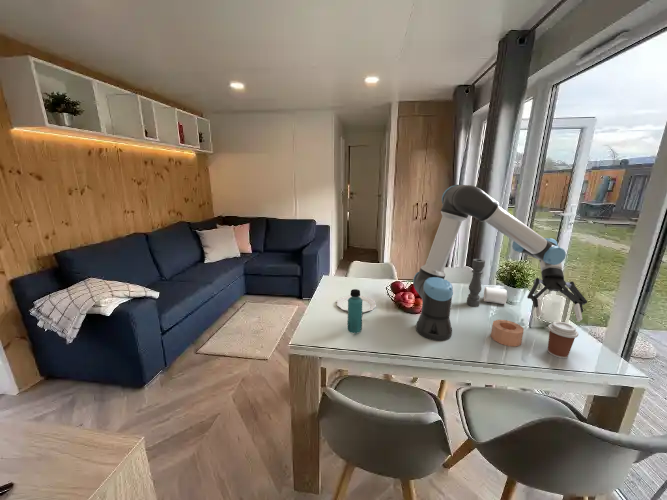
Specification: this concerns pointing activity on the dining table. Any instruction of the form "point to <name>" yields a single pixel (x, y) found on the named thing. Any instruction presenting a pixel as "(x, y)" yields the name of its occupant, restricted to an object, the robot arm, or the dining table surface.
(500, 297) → the mug
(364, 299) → the plate
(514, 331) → the terracotta bowl
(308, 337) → the dining table surface
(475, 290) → the candle holder
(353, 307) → the beverage bottle
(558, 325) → the coffee cup
